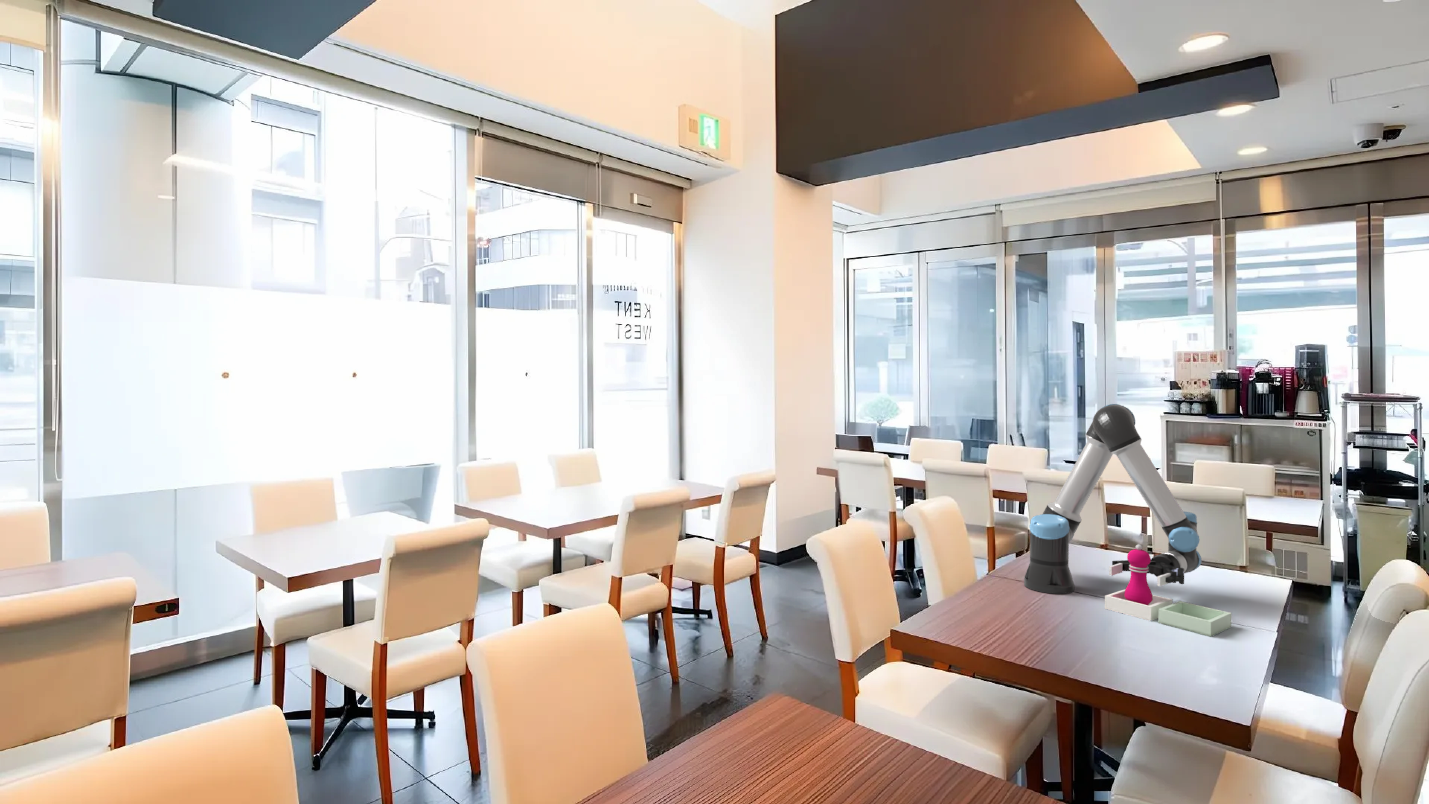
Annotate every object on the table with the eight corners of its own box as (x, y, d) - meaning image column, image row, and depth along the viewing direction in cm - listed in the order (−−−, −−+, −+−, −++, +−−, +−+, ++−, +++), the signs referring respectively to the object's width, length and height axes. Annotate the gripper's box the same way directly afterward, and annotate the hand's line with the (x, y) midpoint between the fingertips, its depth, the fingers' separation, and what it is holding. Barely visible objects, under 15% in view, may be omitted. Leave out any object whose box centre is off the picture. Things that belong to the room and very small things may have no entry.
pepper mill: (1156, 615, 206) (1157, 547, 205) (1129, 614, 207) (1130, 546, 207) (1146, 607, 213) (1147, 542, 212) (1120, 606, 214) (1121, 541, 214)
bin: (1104, 608, 212) (1104, 595, 212) (1126, 601, 219) (1126, 588, 219) (1150, 621, 201) (1151, 607, 201) (1172, 612, 208) (1172, 599, 208)
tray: (1158, 623, 199) (1158, 609, 199) (1179, 614, 206) (1179, 600, 206) (1210, 636, 188) (1210, 622, 188) (1231, 627, 196) (1231, 613, 196)
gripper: (1213, 586, 209) (1180, 599, 198) (1125, 568, 230) (1091, 578, 218) (1213, 561, 209) (1180, 573, 197) (1126, 545, 230) (1091, 554, 218)
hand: (1133, 576), depth 208 cm, fingers open, 13 cm apart
